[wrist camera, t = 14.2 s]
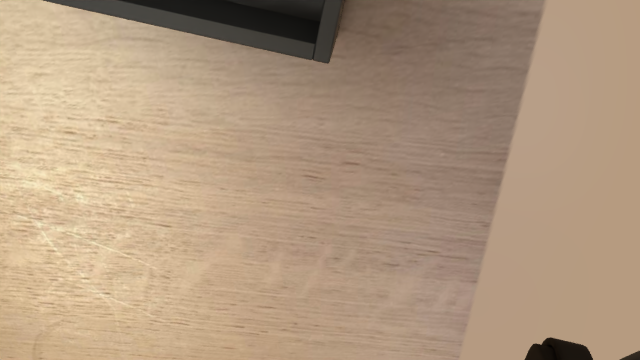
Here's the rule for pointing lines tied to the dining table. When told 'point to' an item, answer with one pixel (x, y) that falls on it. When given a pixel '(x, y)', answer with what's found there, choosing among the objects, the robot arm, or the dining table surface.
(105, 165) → the dining table surface
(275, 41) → the dish tub
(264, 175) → the dining table surface
